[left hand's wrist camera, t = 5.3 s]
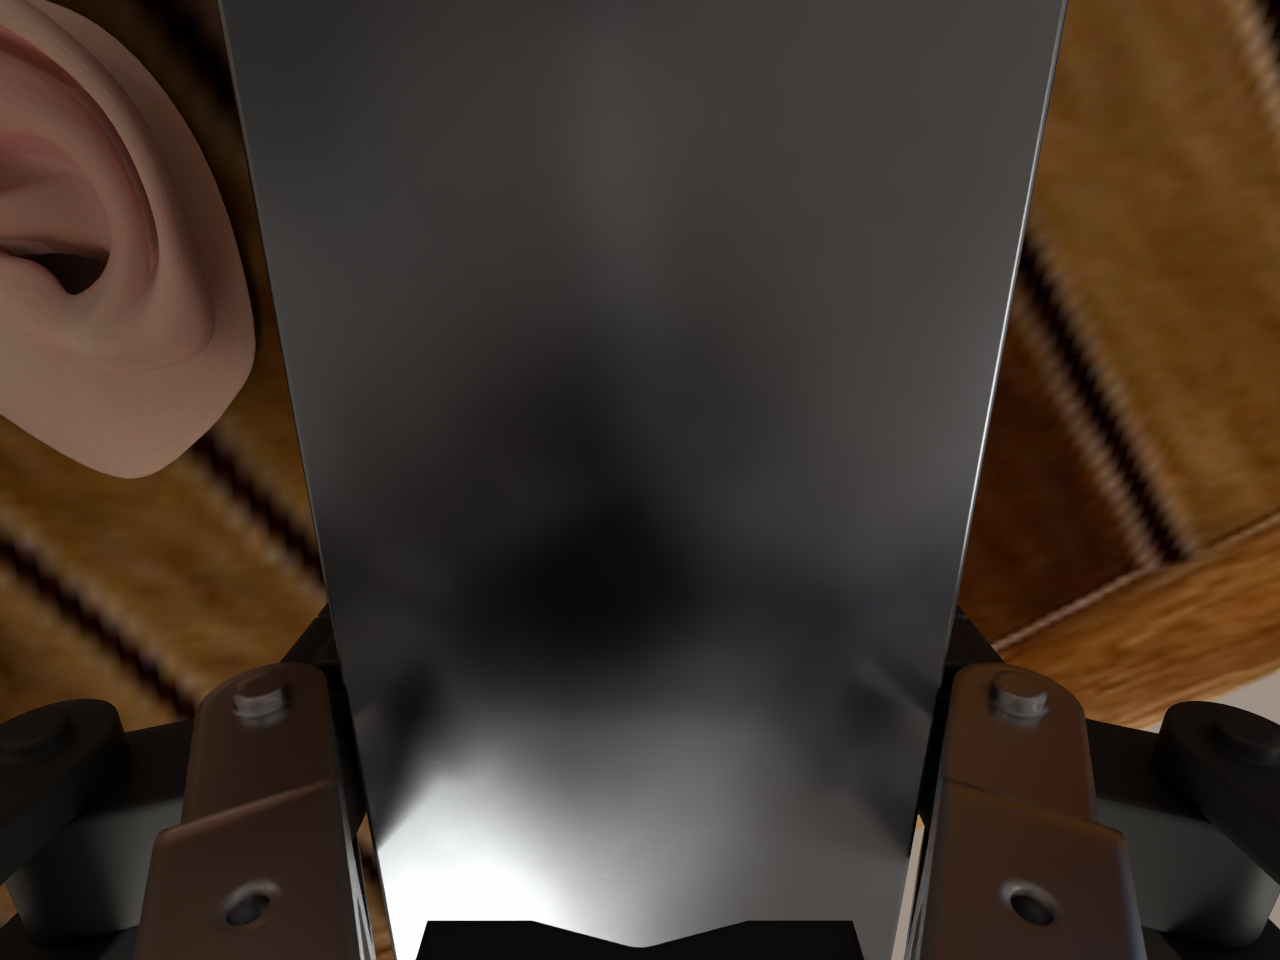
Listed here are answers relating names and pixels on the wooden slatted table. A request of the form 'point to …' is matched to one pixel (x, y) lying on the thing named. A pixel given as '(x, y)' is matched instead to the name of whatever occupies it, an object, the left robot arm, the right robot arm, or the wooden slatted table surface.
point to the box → (642, 426)
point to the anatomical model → (109, 253)
